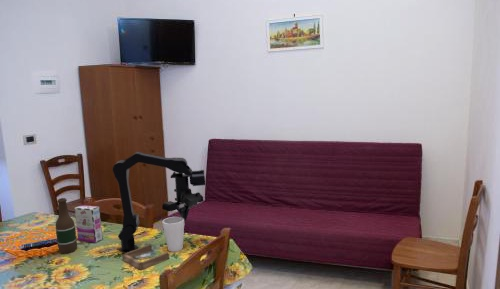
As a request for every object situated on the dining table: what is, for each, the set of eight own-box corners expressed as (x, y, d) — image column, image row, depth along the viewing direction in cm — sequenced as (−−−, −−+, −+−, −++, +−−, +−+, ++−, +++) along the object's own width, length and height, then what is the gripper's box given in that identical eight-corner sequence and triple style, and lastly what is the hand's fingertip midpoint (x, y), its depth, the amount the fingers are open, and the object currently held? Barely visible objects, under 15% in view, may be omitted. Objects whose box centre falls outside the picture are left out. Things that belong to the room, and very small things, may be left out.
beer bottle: (81, 248, 178) (75, 197, 174) (67, 255, 171) (60, 202, 167) (69, 246, 181) (63, 195, 177) (54, 252, 174) (47, 200, 170)
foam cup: (181, 253, 167) (179, 224, 165) (161, 252, 169) (158, 223, 167) (189, 244, 176) (187, 216, 174) (169, 243, 178) (167, 216, 176)
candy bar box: (103, 239, 187) (99, 206, 185) (95, 243, 183) (92, 209, 180) (85, 236, 192) (81, 204, 189) (77, 240, 187) (73, 207, 184)
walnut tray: (122, 260, 163) (122, 254, 163) (150, 249, 172) (149, 244, 172) (140, 270, 153) (140, 264, 153) (169, 258, 162) (168, 252, 162)
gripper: (175, 194, 161) (178, 231, 163) (210, 184, 174) (212, 218, 176) (160, 190, 168) (163, 225, 171) (194, 181, 182) (196, 213, 184)
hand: (184, 220), depth 175 cm, fingers closed
